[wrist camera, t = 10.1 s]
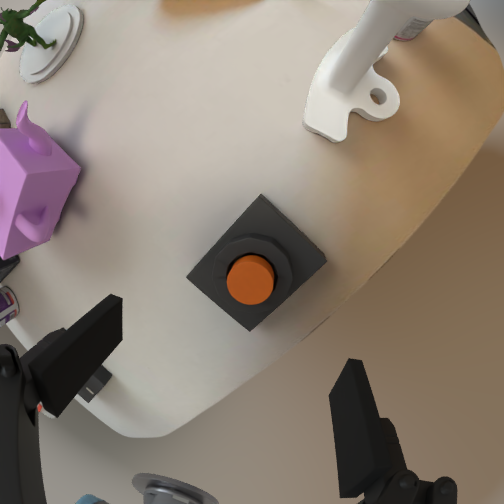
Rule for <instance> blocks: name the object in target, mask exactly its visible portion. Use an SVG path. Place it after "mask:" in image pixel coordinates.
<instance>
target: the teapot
mask: <svg viewBox="0 0 504 504" xmlns="http://www.w3.org/2000/svg"><path fill="white" fill-rule="evenodd" d="M27 106H28V104H27V101H24V102H23V104H22V105H21V107H20V109H19V112H18V115H17V120H16V125H17V128H18V129H15V128H0V256H1V258H2V259H3V260H6V259H8V258H10V257H12V256H15V255H17V254H19V253H21V252H24V251H26V250H28V249H31V248H33V247H35V246H38V245H40V244H42V243H45V242H47V241H49V240H50V238H51V235H52V233H53V230H54V228H55V225H56V223H57V222H58V221H59V220H60V216H61V211H62V208H63V206H64V204H65V201H66V199H67V197H68V195H69V193H70V191H71V188H72V187H73V186H74V185H75V184H76V182H77V178H78V174H79V172H80V170H81V167H80V166H79V165H78V164H77V163H76V162H75V161H74V160H73V159H72V158H71V157H70V156H68V155H67V154H66V153H65V151H64V150H63V149H62V148H61V147H60V146H59V145H58V144H57V143H56V142H55V141H54V140H53V139H52V138H51V137H50V136H49V135H48V133H47V132H46V131H45V130H44V129H43V128H41V127H40V126H38V125H36V124H34V123H32V122H31V121H30V120H29V119H28V116H27Z"/></svg>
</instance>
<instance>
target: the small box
mask: <svg viewBox="0 0 504 504" xmlns="http://www.w3.org/2000/svg"><path fill="white" fill-rule="evenodd" d="M19 262H20V261H19V259H18V256H17V255H15V256H12V257H10V258H8V259H6V260H3V259H2V258H1V256H0V282H1V281H2V280H3V279H4V278H5V277H6V276H7V275H8V273H9V272H10V271H11V270H12V269H13V268H14V267H15V266H16V265H17V264H18V263H19Z"/></svg>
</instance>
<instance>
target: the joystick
mask: <svg viewBox="0 0 504 504" xmlns="http://www.w3.org/2000/svg"><path fill="white" fill-rule="evenodd" d="M469 2H470V0H371V1H370V3H369V5H368V6H367V8H366V10H365V12H364V13H363V15H362V17H361V19H360V20H359V22H358V24H357V26H356V27H355V28H352V29H351V30H349V31H348V32H346V33H345V34H344V35H343V36H342V37H340V38H339V39H338V40H337V41H336V42H335V43H334V45H333V46H332V47H331V48H330V49H329V51H328V52H327V53H326V55H325V56H324V58H323V60H322V61H321V63H320V65H319V67H318V69H317V71H316V73H315V75H314V78H313V81H312V84H311V87H310V90H309V93H308V96H307V100H306V104H305V109H304V115H303V126H304V128H305V129H307V130H309V131H311V132H313V133H318V134H320V135H322V136H324V137H325V138H327V139H329V141H331V142H333V143H338V142H340V141H343V140H344V139H345V138H346V136H347V123H348V115H349V112H357V113H358V114H360V115H361V116H362V117H364V118H365V119H367V120H370V121H382V120H384V119H387V118H389V117H391V116H393V115H394V114H395V113H396V112H397V110H398V108H399V104H400V99H399V94H398V92H397V90H396V88H395V87H394V85H393V84H392V83H391V82H390V81H389V80H387V79H386V78H384V77H381V76H379V75H378V74H376V72H375V71H374V69H373V64H374V63H375V62H377V61H378V60H380V59H381V58H382V57H383V56H384V55H385V54H386V52H387V51H388V47H387V45H388V44H389V43H390V41H391V40H392V39H393V38H394V36H395V35H396V34H397V32H398V31H399V30H400V29H401V27H402V26H403V25H404V24H405V22H406V21H407V20H408V19H409V18H411V17H413V16H415V17H419V18H424V19H445V18H449V17H452V16H455V15H457V14H459V13H460V12H461V11H463V10H464V9H465V8H466V7H467V5H468V4H469ZM370 94H373V95H375V96H376V97H377V98H378V100H379V105H378V104H376V103H374V102H373V101H372V99H371V97H370Z"/></svg>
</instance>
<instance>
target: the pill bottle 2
mask: <svg viewBox="0 0 504 504" xmlns="http://www.w3.org/2000/svg"><path fill="white" fill-rule="evenodd" d="M433 20H434V19H424V18H419V17H415V16H413V17H411V18H409V19H408V20H407V21H406V22H405V24H404V25H403V26H402V27H401V29H400V30H399V31H398V32H397V34H396V35H395V36H394V39H397V40H402V41H408V40H411V39H413V38H415V37H416V36H417V35H418V34H419V33H420V32H421V31H422V30H423V29H425V28H426V27H427V26H428V25H429V24H430V23H431V22H432V21H433Z"/></svg>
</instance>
